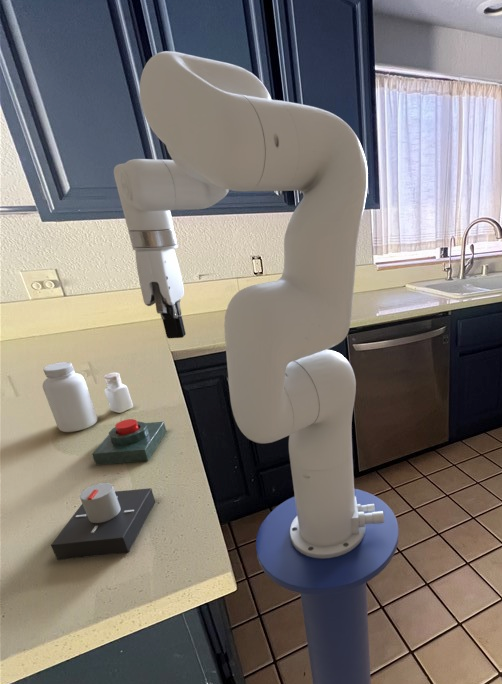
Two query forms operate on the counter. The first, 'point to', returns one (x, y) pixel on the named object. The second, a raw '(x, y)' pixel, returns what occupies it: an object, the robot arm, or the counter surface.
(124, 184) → the robot arm
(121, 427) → the button
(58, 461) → the counter surface
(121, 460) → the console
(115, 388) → the small white square bottle
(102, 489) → the hob knob
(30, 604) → the counter surface
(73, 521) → the panel
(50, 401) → the pill bottle
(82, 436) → the counter surface
